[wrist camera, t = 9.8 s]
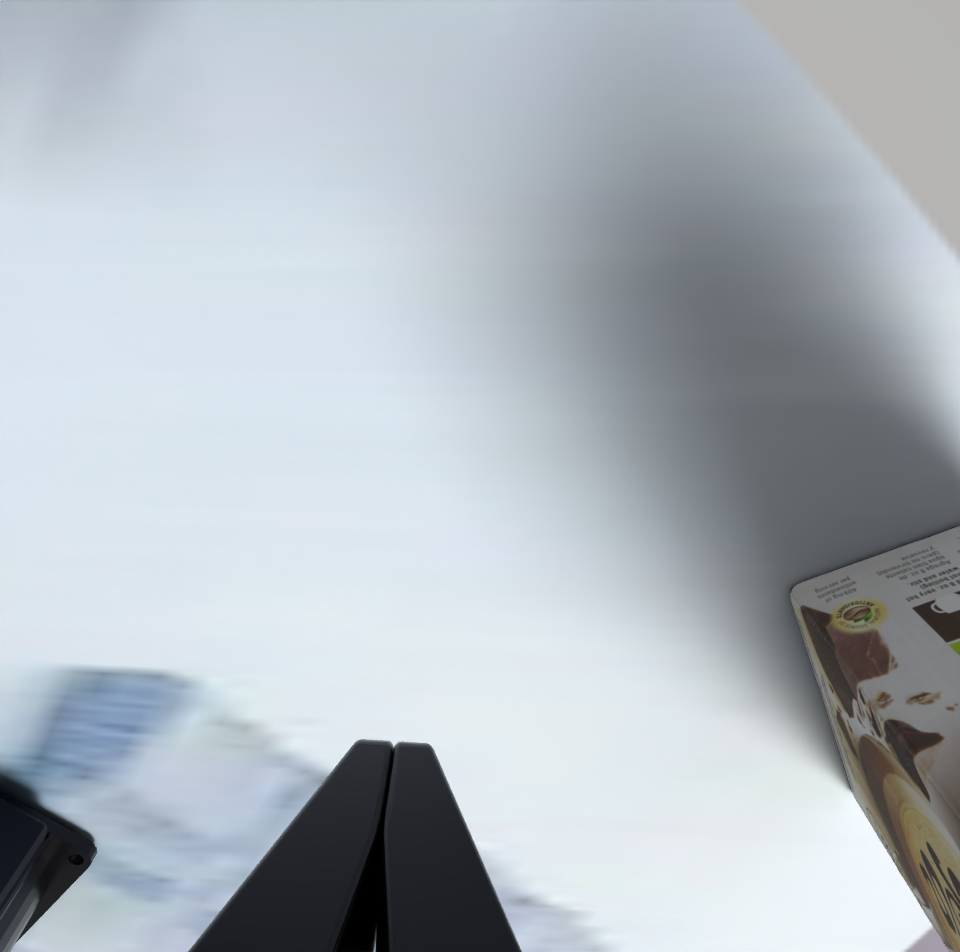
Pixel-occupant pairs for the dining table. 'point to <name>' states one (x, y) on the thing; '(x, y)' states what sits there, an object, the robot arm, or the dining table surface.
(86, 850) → the robot arm
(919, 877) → the coffee box
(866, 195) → the dining table surface
